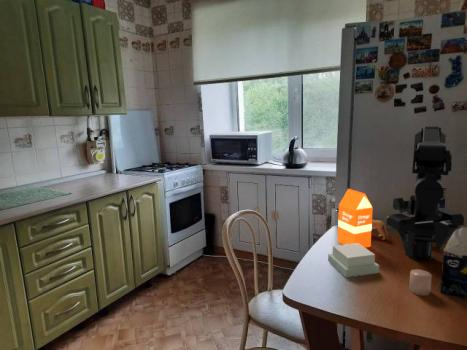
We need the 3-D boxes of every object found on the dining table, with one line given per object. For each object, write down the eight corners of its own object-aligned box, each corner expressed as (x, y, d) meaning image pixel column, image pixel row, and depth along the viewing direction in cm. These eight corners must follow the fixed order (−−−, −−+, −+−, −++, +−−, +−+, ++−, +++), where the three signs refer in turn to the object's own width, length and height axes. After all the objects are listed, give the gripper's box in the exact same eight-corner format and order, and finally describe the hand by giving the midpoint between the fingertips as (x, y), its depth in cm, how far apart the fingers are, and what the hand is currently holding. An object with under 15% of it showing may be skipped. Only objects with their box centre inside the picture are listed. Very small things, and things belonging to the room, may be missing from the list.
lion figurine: (350, 233, 133) (351, 212, 131) (354, 229, 137) (355, 208, 135) (390, 242, 124) (391, 218, 122) (393, 237, 128) (395, 214, 126)
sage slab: (358, 259, 112) (358, 250, 112) (378, 274, 102) (379, 265, 101) (328, 262, 110) (328, 254, 110) (345, 279, 100) (345, 269, 99)
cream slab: (357, 251, 111) (358, 243, 110) (374, 263, 102) (374, 254, 102) (332, 254, 109) (332, 246, 109) (347, 267, 101) (347, 258, 100)
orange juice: (353, 250, 118) (356, 195, 114) (337, 241, 126) (339, 189, 122) (371, 246, 121) (374, 192, 117) (353, 237, 129) (356, 187, 125)
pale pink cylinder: (420, 284, 94) (422, 268, 93) (434, 294, 90) (436, 277, 89) (404, 287, 93) (406, 270, 92) (417, 296, 89) (419, 279, 88)
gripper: (434, 184, 96) (430, 236, 99) (375, 189, 92) (372, 242, 95) (468, 193, 85) (462, 251, 88) (403, 199, 82) (398, 259, 85)
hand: (422, 250), depth 89 cm, fingers open, 9 cm apart
